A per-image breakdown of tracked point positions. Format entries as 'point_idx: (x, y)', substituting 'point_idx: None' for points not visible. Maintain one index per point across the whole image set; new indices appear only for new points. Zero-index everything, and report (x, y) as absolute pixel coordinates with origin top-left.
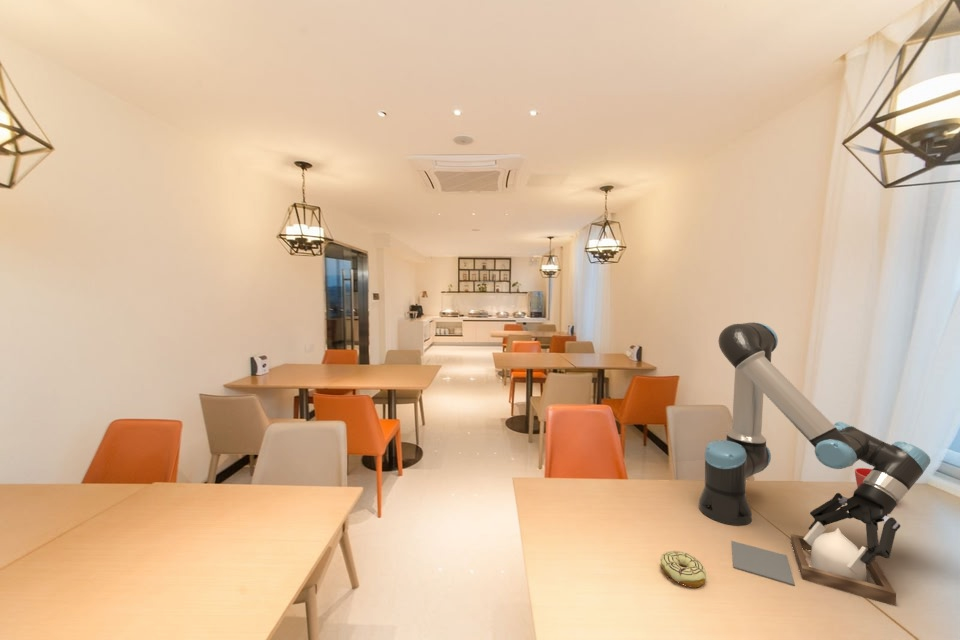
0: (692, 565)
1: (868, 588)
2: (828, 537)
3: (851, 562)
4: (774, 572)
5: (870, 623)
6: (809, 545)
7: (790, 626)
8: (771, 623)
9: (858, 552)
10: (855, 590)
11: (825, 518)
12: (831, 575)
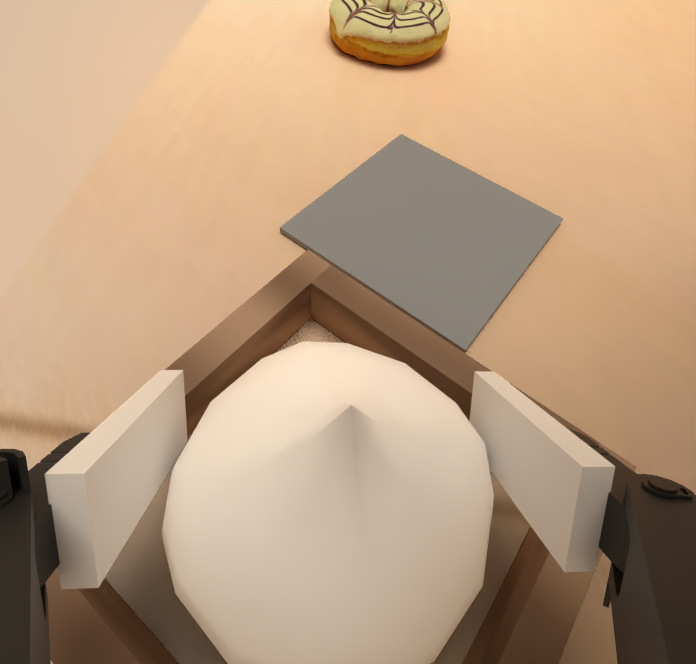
0: (375, 8)
1: None
2: (365, 373)
3: (160, 385)
4: (354, 216)
5: (35, 307)
6: None
7: (152, 108)
8: (178, 84)
9: (119, 426)
10: None
11: (638, 535)
12: (226, 322)
